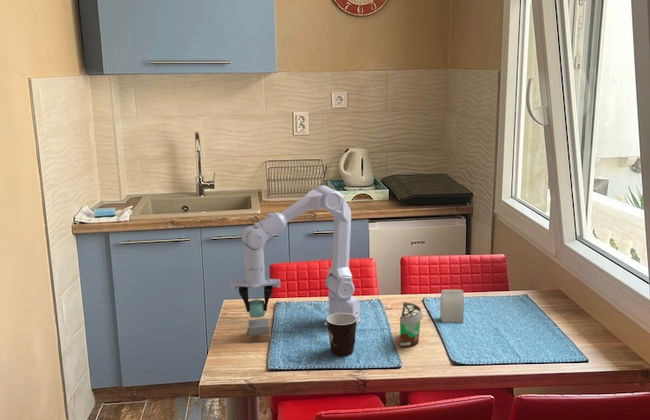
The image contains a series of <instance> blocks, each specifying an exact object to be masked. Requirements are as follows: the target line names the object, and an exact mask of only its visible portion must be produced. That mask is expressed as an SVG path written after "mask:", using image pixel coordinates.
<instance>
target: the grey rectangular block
mask: <svg viewBox="0 0 650 420" xmlns="http://www.w3.org/2000/svg"><path fill="white" fill-rule="evenodd" d="M440 291H441V293H440V294H441V295H440V308H439V309H440V315H439V316H440V317H439V318H440V321H442V322H441V323H464V318H465V317H464V315H465V314H464V312H465V307H464V306H465V300H464V298H465V297H464V296H465V295H464V289H441V290H440Z"/></svg>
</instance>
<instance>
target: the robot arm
mask: <svg viewBox="0 0 650 420" xmlns="http://www.w3.org/2000/svg"><path fill="white" fill-rule="evenodd" d="M323 208H324V209H325V210H326V211H327V212H328V213H329V214H331V216H333V230H332V231H333V232H332V233H333V234H332V256H331V266H330V267H329V269H328V274H327V276H326V279H325V286H326V288H327V289H328V316H329V315H332V314H335V313H349V314H353V315H355V316H356V317H357V324H356V326H357V325H358V324H359V323H360V322H361V321H362V319H361V305H360V304H361V303H360V302H361V301H360V299H359V298H357V297H354V296H353V295H354V292H355V285H354V283H353V275H352V272H351V270H350V254H351V253H350V250H351V249H350V248H351V233H352V232H351V231H352V229H351V228H352V210H351V208H350V206H349V204H348V202H347V201H346V197H345V196H344V195H343V194H342V193H341V192H339V191H338V190H335V189H332V188H330V187H329V186H327V185H323V184H322V185H319V186H317V187H315V188H314V189H311V190H309V192H307V194H305V195H304V196H303V197H302V198H301V197H300V199H299V200H297V201H296V202H294V203H293V204H291V205H290V206H289V207H287V208H286V209H285V210H283V211H281V212H277V211H275V212H273V213H272V212H268V213H267V217H264V218H263V219H262V220H260V221H259V222H257V221H255V223H253V225H250V226H247V227H245V228H244V229H243V232H242V233H241V235H240V238H241V241H242V242H243V243H244V244H243V245H244V271H245V273H244V274H245V278H244V279H239V280H232V281H230V290H235V289H238V293H239V296H240V297H241V299H242V301H243V303H244V307H245V309H246V312H247V313H249V301H250V300H249V289H257V288H263V295H264V296H263V297H264V299H263V301H264V311H265V312H267V310H268V304H269V300H270V297H271V295H272V293H273V289H274V287H275V288H281V279H280V278H266V271H265V252H264V246H265V244H266V242H267V241H268V240H269V239H271V238H273V237H275V236H276V235H277V234H279V233H281V232H283V230H285V229H286V228H287V226H288V225H287V224H288V223H289V222H291V221H292V220H294V219H296V218H297V217H299V216H301V215H303V214H304V213H307V212H308V211H310V210H315V211H316V210H317V211H322V210H323ZM324 325H325V326H327V321H325V322H324Z"/></svg>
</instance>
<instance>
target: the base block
mask: <svg viewBox="0 0 650 420" xmlns="http://www.w3.org/2000/svg"><path fill="white" fill-rule="evenodd" d="M246 329H247V330H246V343H247V344H250V343H251V344H252V343H256V344H257V343H271V341H270V340H271V337H272V334H271V333H272V330H271V329H272V327H271V325H269V334H266V335H253V336H249V326H247V328H246Z"/></svg>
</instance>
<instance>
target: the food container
mask: <svg viewBox="0 0 650 420" xmlns="http://www.w3.org/2000/svg"><path fill="white" fill-rule="evenodd" d="M402 304H403V306H402V311H401V316H399V328H400V329H399V333H400V334H399V339H400V340H399V341H400V343H399V345H400V346H399V347H400V348H399V349H405V348H406V349H407V348H412V347H415V346H417V345H418V344H419V340H420V331H421V329H420V328H421V320H422V319H423V318H424V315H423V310H422V308H421V307H420V306H419V305H417V304H416V303H412V302H407V301H405V302H404V301H403V303H402Z"/></svg>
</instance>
